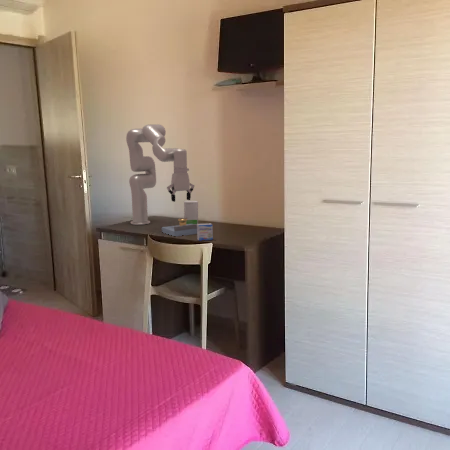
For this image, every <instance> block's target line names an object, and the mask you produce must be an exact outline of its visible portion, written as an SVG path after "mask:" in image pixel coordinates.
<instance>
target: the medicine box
mask: <svg viewBox="0 0 450 450" xmlns="http://www.w3.org/2000/svg"><path fill="white" fill-rule="evenodd" d="M213 229H214V227H213V224H212V223H210V222H209V223H203V224H200V223H198V224H197V234H196V238H197V239H196V240H197V241H199V242H202V240H205V241H213V239H214V236H213V231H214V230H213Z"/></svg>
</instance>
